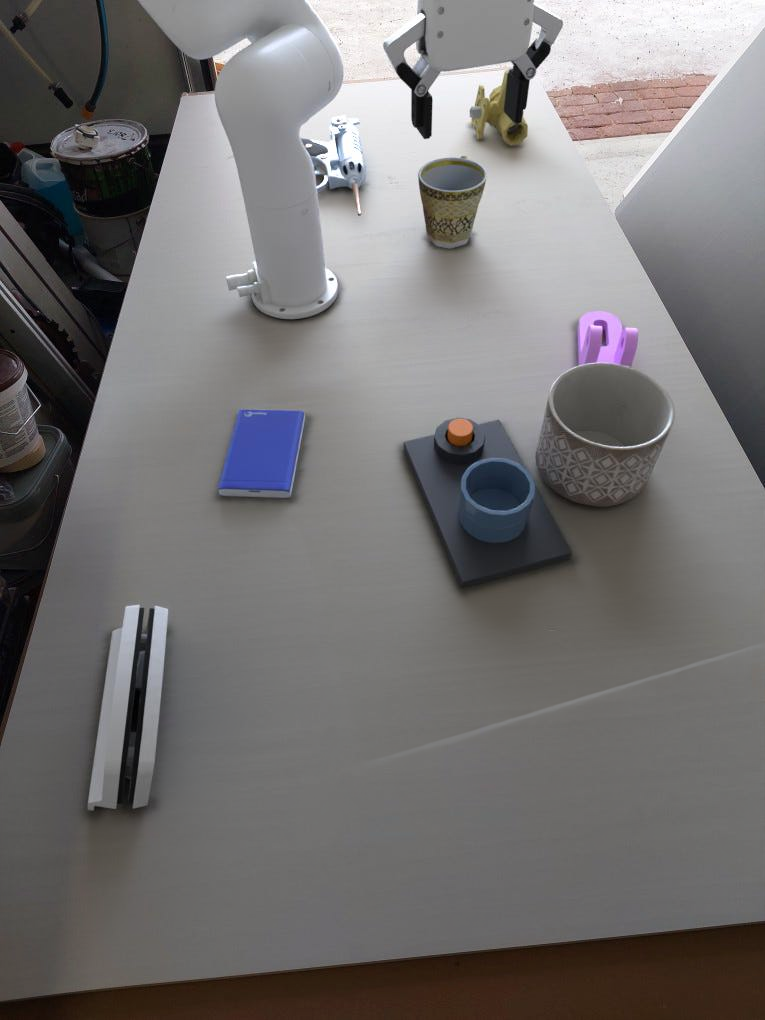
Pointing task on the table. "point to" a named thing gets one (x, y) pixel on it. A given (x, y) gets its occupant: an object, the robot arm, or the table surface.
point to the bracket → (617, 340)
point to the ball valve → (496, 115)
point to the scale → (440, 487)
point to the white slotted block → (130, 710)
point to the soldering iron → (339, 157)
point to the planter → (603, 433)
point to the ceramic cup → (451, 198)
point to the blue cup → (495, 500)
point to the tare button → (460, 432)
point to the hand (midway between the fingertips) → (468, 125)
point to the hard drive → (263, 453)
